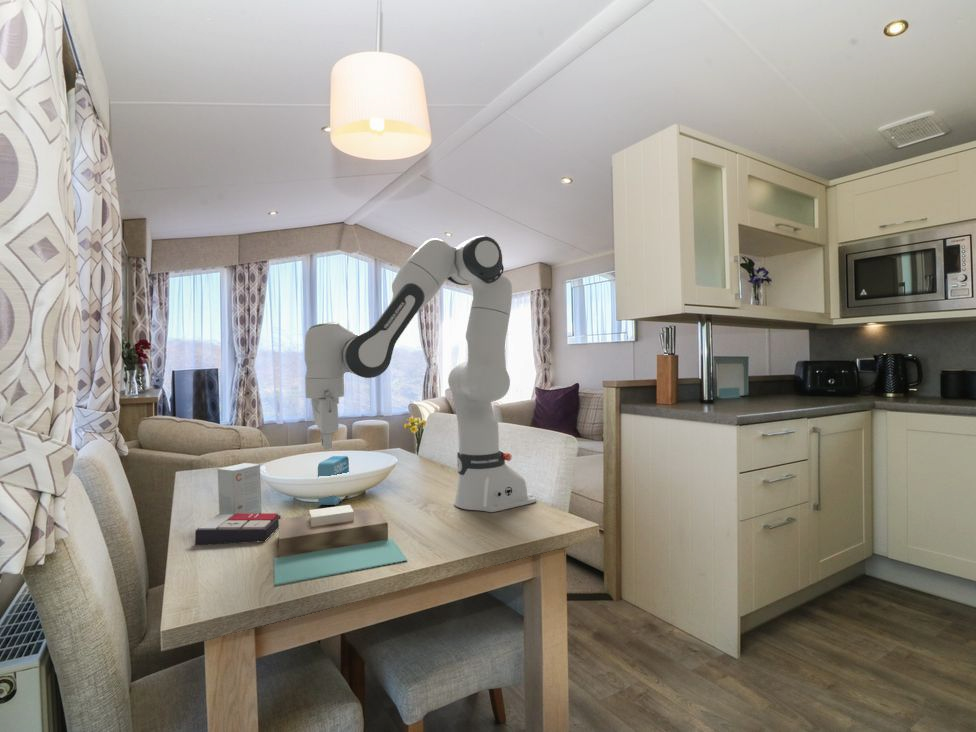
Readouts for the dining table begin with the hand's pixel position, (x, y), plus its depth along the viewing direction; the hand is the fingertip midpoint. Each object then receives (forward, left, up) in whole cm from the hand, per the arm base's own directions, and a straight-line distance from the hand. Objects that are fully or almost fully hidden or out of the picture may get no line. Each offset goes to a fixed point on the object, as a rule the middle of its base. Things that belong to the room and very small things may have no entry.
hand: (326, 447), depth 119 cm
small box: (+20, -20, -19) cm, 34 cm away
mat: (0, +23, -19) cm, 30 cm away
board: (0, +9, -19) cm, 21 cm away
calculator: (+19, -4, -20) cm, 28 cm away
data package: (-4, -23, -19) cm, 30 cm away
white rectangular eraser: (0, +8, -14) cm, 16 cm away
